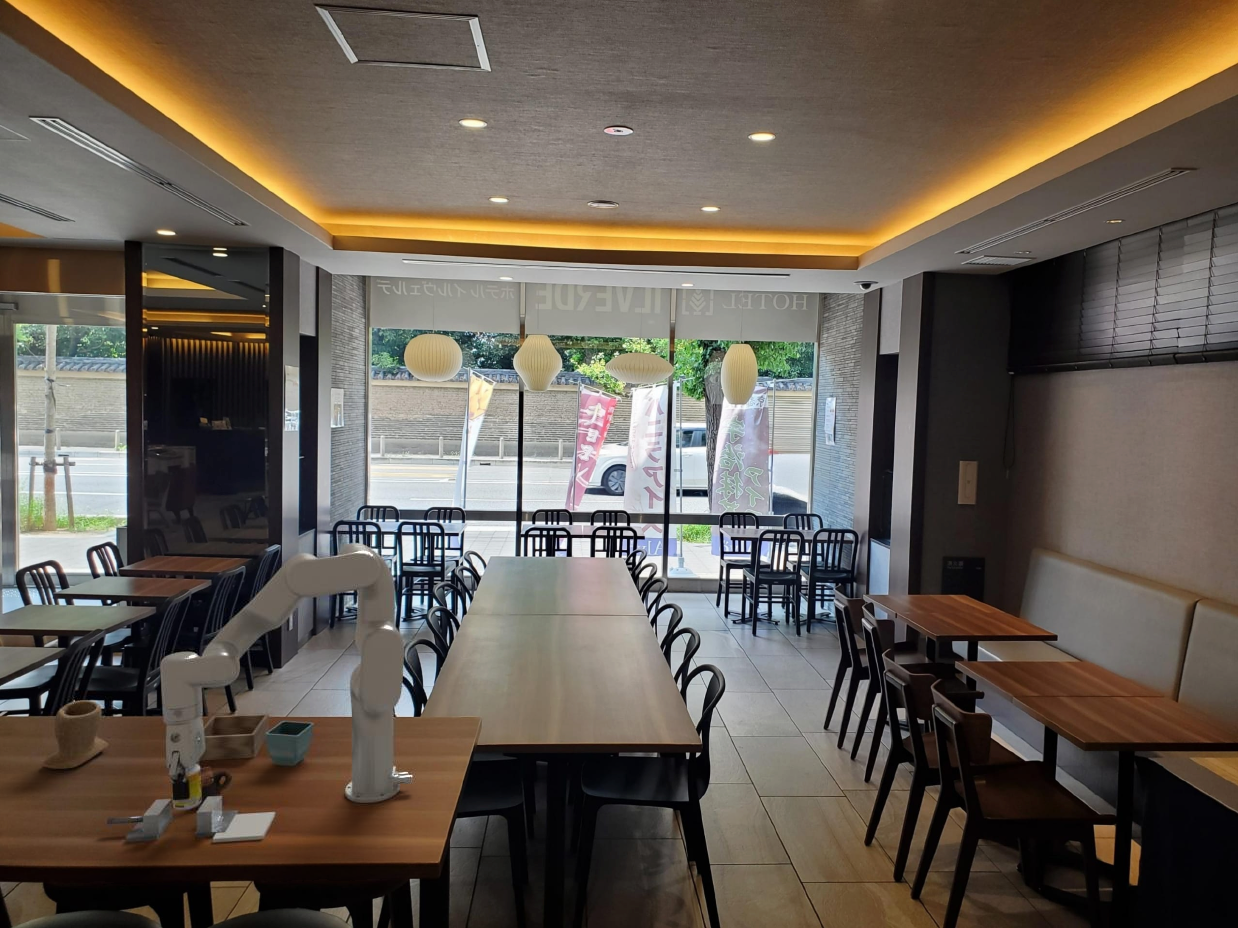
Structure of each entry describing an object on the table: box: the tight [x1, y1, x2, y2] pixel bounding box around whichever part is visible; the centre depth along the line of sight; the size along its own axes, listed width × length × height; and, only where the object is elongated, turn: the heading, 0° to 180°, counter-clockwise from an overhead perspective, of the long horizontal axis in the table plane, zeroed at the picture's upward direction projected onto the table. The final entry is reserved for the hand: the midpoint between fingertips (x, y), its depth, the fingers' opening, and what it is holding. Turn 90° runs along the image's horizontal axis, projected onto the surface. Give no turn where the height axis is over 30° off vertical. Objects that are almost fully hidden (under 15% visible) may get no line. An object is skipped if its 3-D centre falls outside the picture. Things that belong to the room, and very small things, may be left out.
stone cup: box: [42, 699, 109, 770], centre depth 206 cm, size 15×12×15 cm
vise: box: [106, 795, 239, 843], centre depth 174 cm, size 25×9×5 cm, turn 100°
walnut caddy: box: [199, 713, 270, 761], centre depth 215 cm, size 15×15×6 cm
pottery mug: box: [191, 766, 233, 810], centre depth 188 cm, size 12×10×8 cm
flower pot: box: [265, 720, 315, 767], centre depth 207 cm, size 9×9×9 cm
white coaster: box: [212, 811, 276, 843], centre depth 175 cm, size 10×10×1 cm
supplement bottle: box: [171, 764, 202, 811], centre depth 174 cm, size 6×6×10 cm
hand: (186, 791), depth 174 cm, fingers closed on supplement bottle, 5 cm apart
